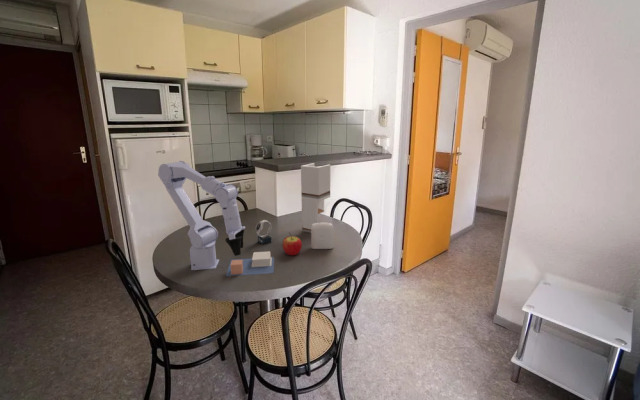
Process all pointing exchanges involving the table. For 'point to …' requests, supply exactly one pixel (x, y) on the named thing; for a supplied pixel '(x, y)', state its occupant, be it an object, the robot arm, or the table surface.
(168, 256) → the table surface
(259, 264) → the base block
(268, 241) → the watch
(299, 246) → the apple
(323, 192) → the tall white column
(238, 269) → the terracotta block
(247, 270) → the blueprint board
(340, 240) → the table surface
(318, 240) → the photo printer
